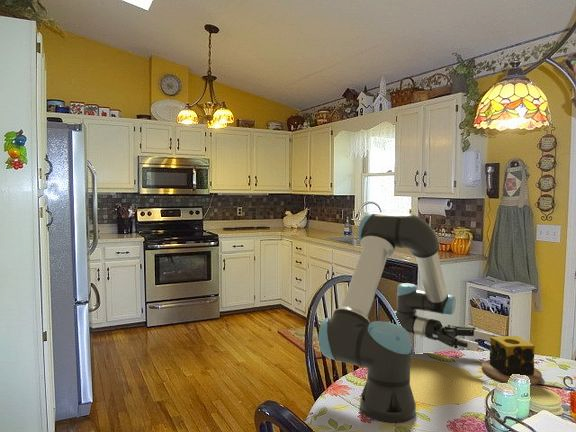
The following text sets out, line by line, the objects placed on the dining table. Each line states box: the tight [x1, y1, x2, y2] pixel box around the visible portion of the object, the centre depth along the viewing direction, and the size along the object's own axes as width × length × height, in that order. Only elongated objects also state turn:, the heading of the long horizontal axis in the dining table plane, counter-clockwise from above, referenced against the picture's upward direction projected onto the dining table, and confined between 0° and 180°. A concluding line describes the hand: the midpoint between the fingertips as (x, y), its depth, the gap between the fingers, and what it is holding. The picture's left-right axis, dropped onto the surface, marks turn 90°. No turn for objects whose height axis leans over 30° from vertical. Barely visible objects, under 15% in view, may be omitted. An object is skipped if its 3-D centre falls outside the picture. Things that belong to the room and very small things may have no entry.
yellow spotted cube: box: [489, 335, 536, 376], centre depth 144 cm, size 10×10×10 cm
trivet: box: [481, 359, 543, 386], centre depth 145 cm, size 18×18×2 cm
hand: (485, 342), depth 151 cm, fingers open, 13 cm apart
